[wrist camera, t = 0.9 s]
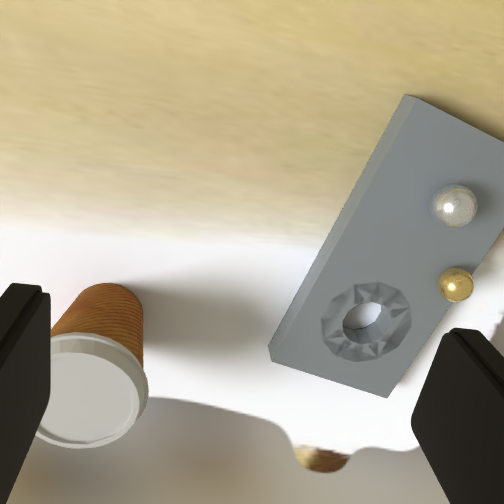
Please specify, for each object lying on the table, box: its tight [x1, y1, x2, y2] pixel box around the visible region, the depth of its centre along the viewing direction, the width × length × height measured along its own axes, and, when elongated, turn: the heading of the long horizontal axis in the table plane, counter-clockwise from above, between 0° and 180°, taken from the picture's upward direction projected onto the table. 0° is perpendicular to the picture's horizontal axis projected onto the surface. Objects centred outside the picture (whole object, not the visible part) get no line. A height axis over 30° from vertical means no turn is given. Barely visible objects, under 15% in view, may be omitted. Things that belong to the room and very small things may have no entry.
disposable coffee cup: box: [35, 283, 149, 448], centre depth 39 cm, size 10×10×12 cm
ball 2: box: [437, 268, 474, 302], centre depth 42 cm, size 3×3×3 cm
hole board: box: [268, 95, 504, 398], centre depth 43 cm, size 26×13×2 cm, turn 156°
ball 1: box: [430, 184, 477, 228], centre depth 38 cm, size 4×4×4 cm
